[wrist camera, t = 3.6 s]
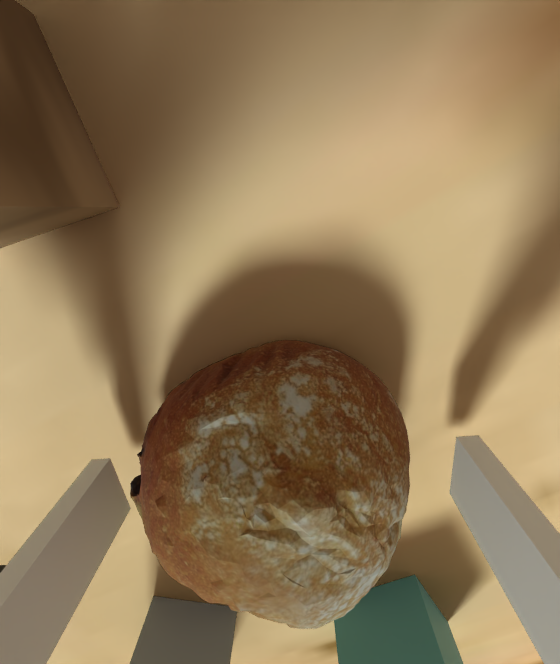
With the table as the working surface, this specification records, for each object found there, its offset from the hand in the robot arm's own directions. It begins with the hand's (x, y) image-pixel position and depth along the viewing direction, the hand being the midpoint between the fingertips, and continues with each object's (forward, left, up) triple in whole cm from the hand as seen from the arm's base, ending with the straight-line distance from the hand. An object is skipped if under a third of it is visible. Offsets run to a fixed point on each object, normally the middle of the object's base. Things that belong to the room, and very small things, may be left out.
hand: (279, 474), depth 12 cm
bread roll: (0, 0, -2) cm, 2 cm away
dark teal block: (+13, +5, -2) cm, 14 cm away
